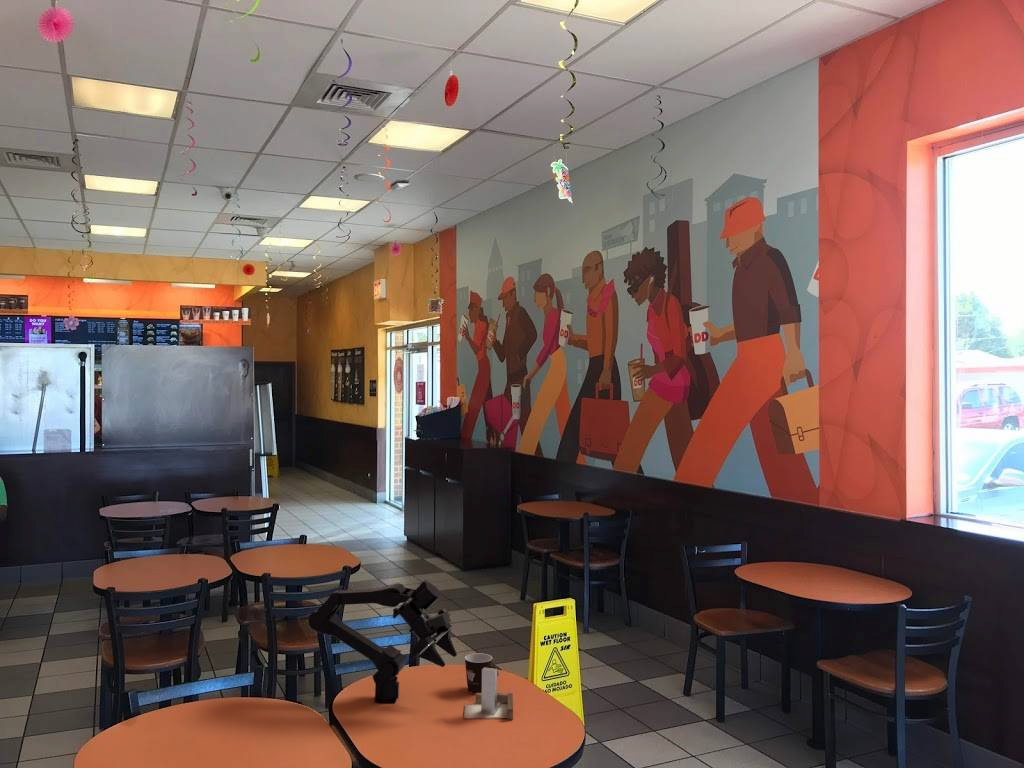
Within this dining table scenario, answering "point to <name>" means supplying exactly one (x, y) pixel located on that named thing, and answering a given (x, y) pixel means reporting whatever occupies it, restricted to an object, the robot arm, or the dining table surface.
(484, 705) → the bracket
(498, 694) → the corner fixture
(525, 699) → the dining table surface
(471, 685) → the coffee mug
